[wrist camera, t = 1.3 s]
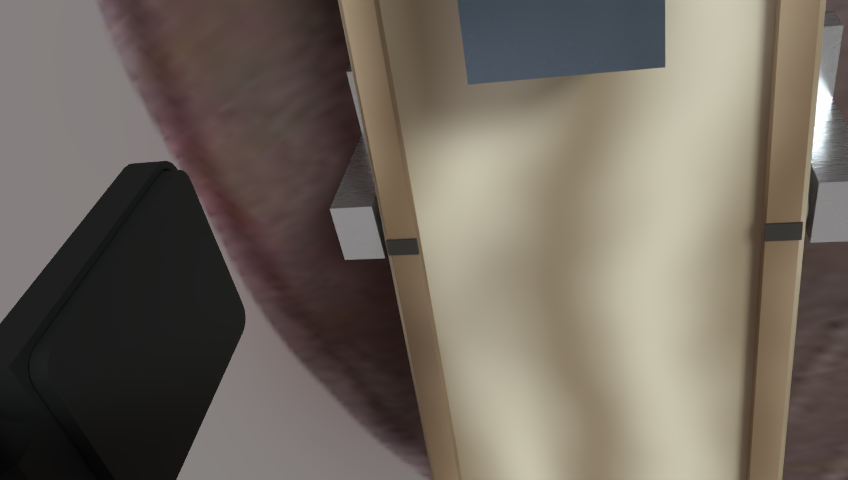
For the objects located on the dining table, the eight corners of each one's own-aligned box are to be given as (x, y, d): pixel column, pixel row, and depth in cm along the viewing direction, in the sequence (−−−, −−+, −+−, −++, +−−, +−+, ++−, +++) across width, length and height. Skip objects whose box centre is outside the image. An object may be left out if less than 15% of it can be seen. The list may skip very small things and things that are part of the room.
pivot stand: (835, 11, 28) (890, 99, 23) (808, 196, 33) (850, 303, 28) (353, 58, 32) (309, 142, 27) (391, 216, 37) (360, 313, 32)
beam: (800, -247, 24) (867, -255, 18) (756, 403, 37) (788, 522, 31) (354, -172, 28) (291, -159, 22) (452, 401, 40) (428, 508, 34)
